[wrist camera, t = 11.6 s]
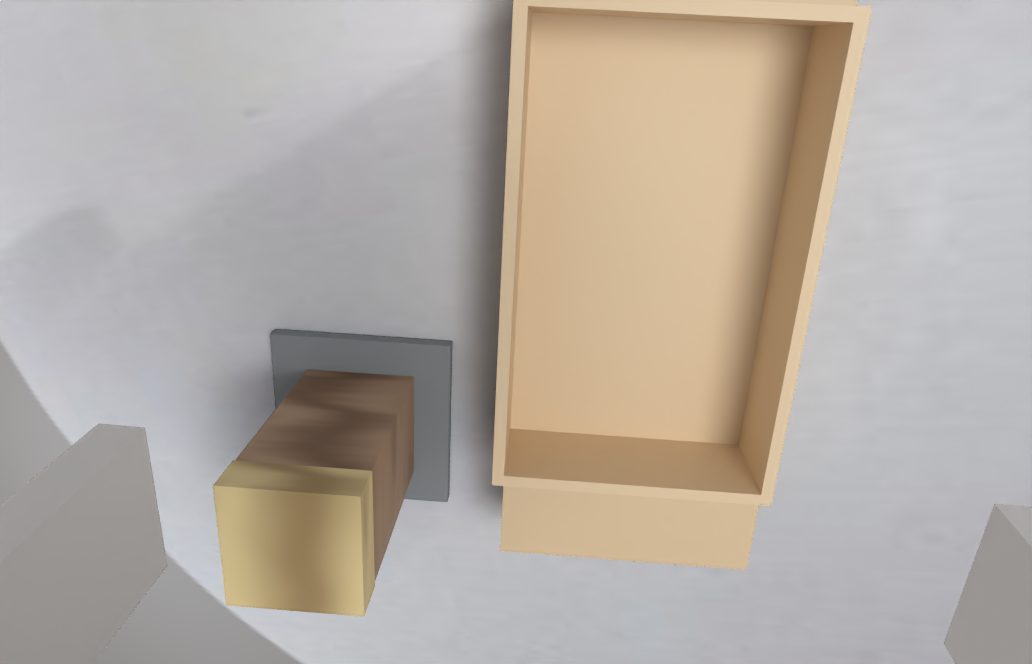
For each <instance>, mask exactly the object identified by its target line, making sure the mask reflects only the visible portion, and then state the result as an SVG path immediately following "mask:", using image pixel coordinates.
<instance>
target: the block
mask: <svg viewBox="0 0 1032 664" xmlns="http://www.w3.org/2000/svg"><path fill="white" fill-rule="evenodd" d="M413 472H414V377H412V376H397V375H383V374H368V373H354V372H339V371H325V370H311V369H308V370H307V371H306V372H305V373H304V375H303V376H302V377H301V378H300V380H299V381H298V382H297V384H296V385H295V386H294V387H293V389H292V390H291V391H290V392H289V394H288V395H287V396H286V397H285V399H284V400H283V401H282V402H281V404H280V405H279V406H278V407H277V409H276V410H275V411H274V412H273V414H272V415H271V416H270V417H269V419H268V420H267V421H266V422H265V424H264V425H263V426H262V427H261V429H260V430H259V431H258V432H257V434H256V435H255V436H254V437H253V439H252V440H251V441H250V442H249V444H248V445H247V446H246V448H245V449H244V450H243V451H242V453H241V454H240V455H239V456H238V458H237V459H236V460H235V461H234V460H233V461H232V462H231V464H230V465H229V466H228V467H227V469H226V470H225V471H224V472H223V474H222V475H221V476H220V477H219V479H218V480H217V481H216V482H215V484H214V485H213V491H214V500H215V509H216V518H217V527H218V536H219V545H220V554H221V563H222V572H223V581H224V590H225V598H226V605H229V606H241V607H253V608H266V609H278V610H290V611H303V612H315V613H328V614H340V615H352V616H364V615H365V612H366V610H367V607H368V604H369V601H370V598H371V595H372V592H373V589H374V587H375V580H376V577H377V574H378V571H379V568H380V565H381V563H382V560H383V557H384V554H385V551H386V548H387V546H388V543H389V540H390V537H391V534H392V531H393V528H394V526H395V523H396V520H397V517H398V514H399V511H400V509H401V506H402V503H403V500H404V497H405V494H406V491H407V489H408V486H409V483H410V480H411V477H412V474H413Z"/></svg>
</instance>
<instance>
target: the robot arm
mask: <svg viewBox="0 0 1032 664" xmlns="http://www.w3.org/2000/svg"><path fill="white" fill-rule="evenodd" d="M166 567H167V561H166V554H165V548H164V542H163V536H162V529H161V523H160V517H159V511H158V505H157V499H156V492H155V486H154V480H153V474H152V468H151V462H150V456H149V449H148V443H147V437H146V431H145V428H142V427H130V426H119V425H108V424H98V425H96V426H95V427H94V428H93V429H92V430H90V431H89V432H88V433H87V434H85V435H84V436H83V437H82V438H81V439H79V440H78V441H77V442H76V443H75V444H73V445H72V446H71V447H70V448H69V449H67V450H66V451H65V452H64V453H63V454H61V455H60V456H59V457H58V458H57V459H55V460H54V461H53V462H52V463H51V464H50V465H48V466H47V467H46V468H45V469H43V470H42V471H41V472H40V473H39V474H37V475H36V476H35V477H34V478H33V479H31V480H30V481H29V482H28V483H27V484H25V485H24V486H23V487H22V488H21V489H19V490H18V491H17V492H16V493H14V494H13V495H12V496H11V497H10V498H8V499H7V500H6V501H5V502H4V503H2V504H1V505H0V664H93V663H94V662H95V661H96V659H97V658H98V656H99V655H100V654H101V653H102V651H103V650H104V649H105V647H106V646H107V645H108V643H109V642H110V641H111V639H112V638H113V637H114V636H115V634H116V633H117V631H118V630H119V629H120V628H121V626H122V625H123V624H124V622H125V621H126V620H127V618H128V617H129V616H130V615H131V613H132V612H133V611H134V609H135V608H136V607H137V605H138V604H139V603H140V601H141V600H142V599H143V597H144V596H145V595H146V594H147V592H148V591H149V590H150V588H151V587H152V586H153V584H154V583H155V582H156V580H157V579H158V578H159V576H160V575H161V574H162V572H163V571H164V570H165V568H166ZM944 645H945V647H946V648H947V650H948V652H949V653H950V655H951V657H952V659H953V660H954V662H955V664H1032V507H1025V506H1014V505H1003V504H994V507H993V509H992V512H991V515H990V518H989V520H988V523H987V526H986V529H985V531H984V534H983V537H982V539H981V542H980V545H979V548H978V550H977V553H976V556H975V559H974V561H973V564H972V567H971V570H970V572H969V575H968V578H967V581H966V583H965V586H964V589H963V592H962V594H961V597H960V600H959V603H958V605H957V608H956V611H955V613H954V616H953V619H952V622H951V624H950V627H949V630H948V633H947V635H946V638H945V641H944Z"/></svg>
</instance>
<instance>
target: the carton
mask: <svg viewBox="0 0 1032 664" xmlns="http://www.w3.org/2000/svg"><path fill="white" fill-rule="evenodd" d="M857 3H858V0H513V17H512V40H511V63H510V85H509V108H508V130H507V153H506V176H505V198H504V221H503V243H502V266H501V289H500V311H499V334H498V356H497V379H496V402H495V424H494V447H493V469H492V485H495V486H503V505H502V525H501V544H500V551H510V552H523V553H536V554H549V555H562V556H575V557H588V558H601V559H614V560H627V561H639V562H652V563H665V564H678V565H691V566H704V567H717V568H730V569H743V570H747V565H748V560H749V554H750V549H751V544H752V539H753V534H754V529H755V524H756V519H757V514H758V509H759V505H764V506H771V504H772V499H773V494H774V489H775V484H776V479H777V475H778V470H779V465H780V460H781V455H782V450H783V445H784V440H785V435H786V430H787V425H788V420H789V415H790V410H791V405H792V401H793V396H794V391H795V386H796V381H797V376H798V371H799V366H800V361H801V356H802V351H803V346H804V341H805V336H806V332H807V327H808V322H809V317H810V312H811V307H812V302H813V297H814V292H815V287H816V282H817V277H818V272H819V267H820V262H821V258H822V253H823V248H824V243H825V238H826V233H827V228H828V223H829V218H830V213H831V208H832V203H833V198H834V193H835V188H836V184H837V179H838V174H839V169H840V164H841V159H842V154H843V149H844V144H845V139H846V134H847V129H848V124H849V119H850V114H851V110H852V105H853V100H854V95H855V90H856V85H857V80H858V75H859V70H860V65H861V60H862V55H863V50H864V45H865V41H866V36H867V31H868V26H869V21H870V16H871V11H872V7H863V6H857Z"/></svg>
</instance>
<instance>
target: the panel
mask: <svg viewBox="0 0 1032 664" xmlns="http://www.w3.org/2000/svg"><path fill="white" fill-rule="evenodd" d="M270 338H271V352H272V366H273V379H274V393H275V406H276V409H277V407H278V406H279V405H280V404H281V402H282V401H283V400H284V399H285V397H286V396H287V395H288V394H289V392H290V391H291V390H292V389H293V387H294V386H295V385H296V384H297V382H298V381H299V380H300V378H301V377H302V376H303V375H304V373H305V372H306V371H307V370H308V369H311V370H325V371H339V372H354V373H368V374H383V375H397V376H412V377H414V472H413V474H412V477H411V480H410V483H409V486H408V489H407V491H406V494H405V497H404V499H413V500H427V501H440V502H447V501H448V497H449V482H450V433H451V384H452V341H444V340H430V339H415V338H400V337H385V336H370V335H356V334H341V333H326V332H311V331H296V330H281V329H275V330H274V331H273V332H272V333H271V334H270Z"/></svg>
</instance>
